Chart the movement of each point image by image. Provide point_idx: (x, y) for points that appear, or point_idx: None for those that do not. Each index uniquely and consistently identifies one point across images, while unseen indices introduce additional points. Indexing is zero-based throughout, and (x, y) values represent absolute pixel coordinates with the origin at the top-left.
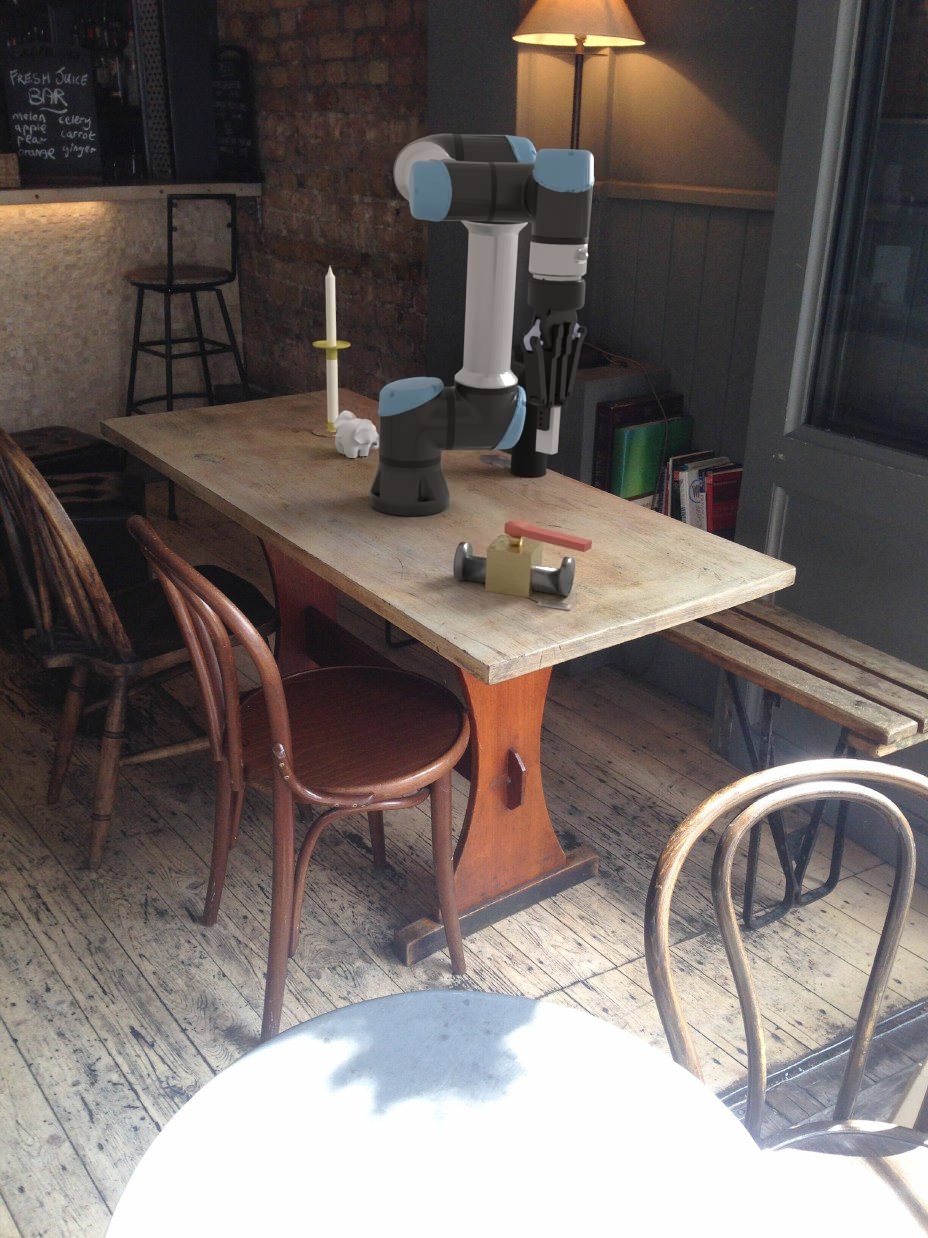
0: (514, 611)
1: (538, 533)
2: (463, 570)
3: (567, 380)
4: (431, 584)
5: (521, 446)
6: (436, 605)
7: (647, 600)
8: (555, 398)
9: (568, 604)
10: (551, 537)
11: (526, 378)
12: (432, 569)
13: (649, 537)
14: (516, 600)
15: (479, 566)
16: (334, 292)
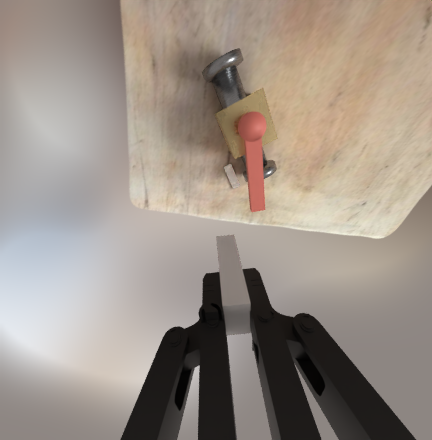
0: (201, 162)
1: (247, 163)
2: (212, 80)
3: (316, 394)
4: (186, 57)
5: None
6: (158, 106)
7: (284, 211)
8: (255, 340)
9: (238, 183)
10: (248, 178)
11: (124, 436)
12: (216, 17)
13: (424, 129)
14: (219, 148)
15: (221, 96)
16: None
